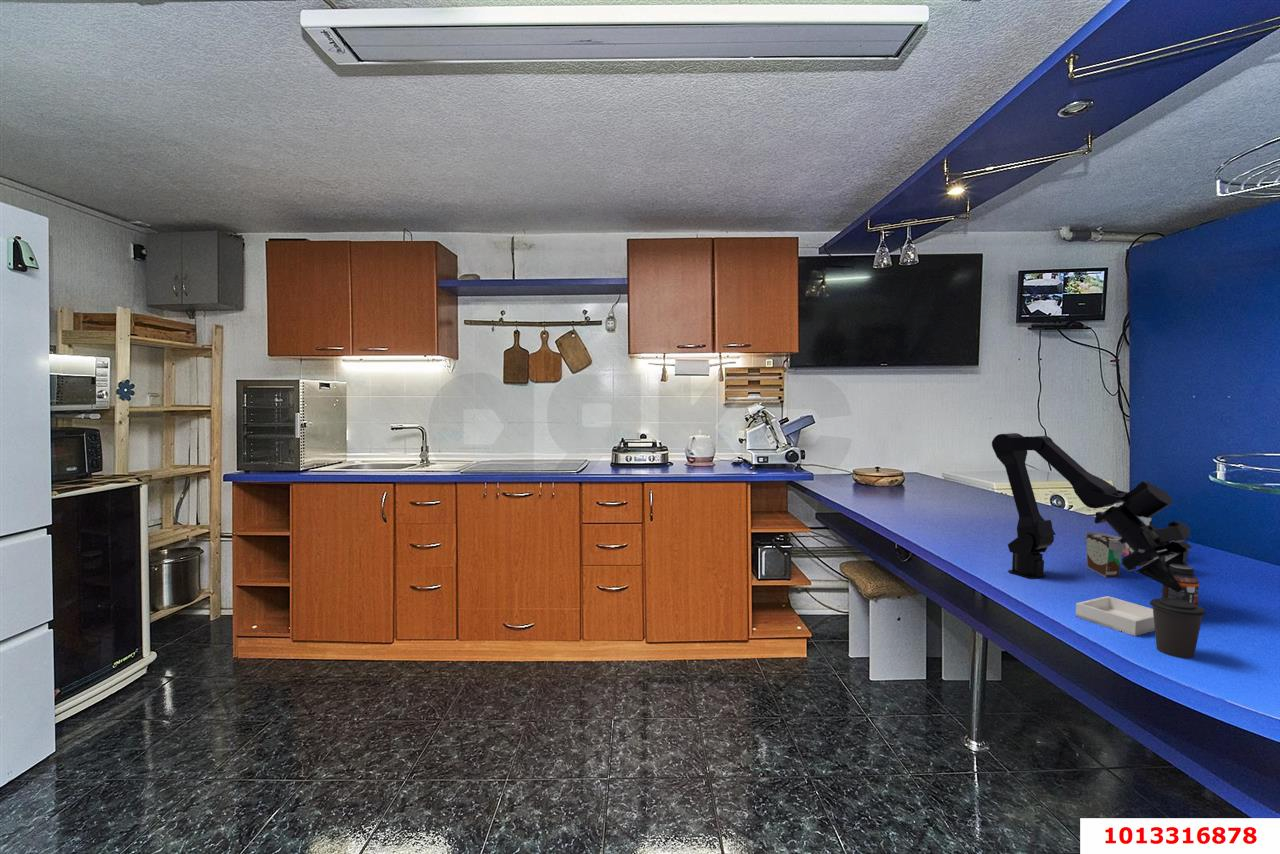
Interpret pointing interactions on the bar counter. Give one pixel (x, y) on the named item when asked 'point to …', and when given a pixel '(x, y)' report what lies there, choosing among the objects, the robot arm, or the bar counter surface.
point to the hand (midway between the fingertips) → (1188, 588)
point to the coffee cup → (1176, 626)
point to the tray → (1117, 615)
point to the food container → (1104, 553)
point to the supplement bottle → (1183, 584)
